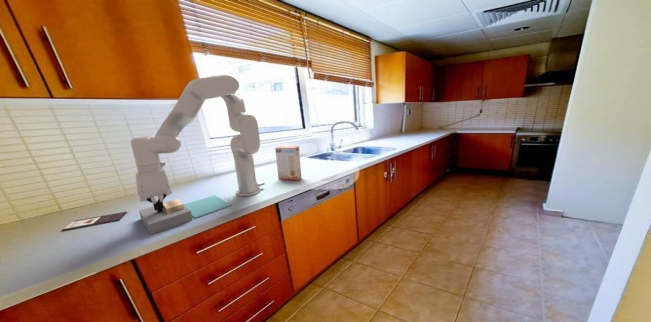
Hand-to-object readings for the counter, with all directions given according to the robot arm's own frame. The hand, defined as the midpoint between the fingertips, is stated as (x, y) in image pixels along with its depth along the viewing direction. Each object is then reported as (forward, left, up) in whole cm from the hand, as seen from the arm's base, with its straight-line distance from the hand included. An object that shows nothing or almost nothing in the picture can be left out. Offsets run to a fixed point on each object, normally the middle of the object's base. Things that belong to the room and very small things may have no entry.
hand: (159, 210), depth 92 cm
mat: (-18, 0, -4) cm, 18 cm away
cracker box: (-69, 0, -5) cm, 69 cm away
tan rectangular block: (-5, 0, 0) cm, 5 cm away
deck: (-2, 0, -4) cm, 5 cm away
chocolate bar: (+18, -24, -5) cm, 31 cm away
